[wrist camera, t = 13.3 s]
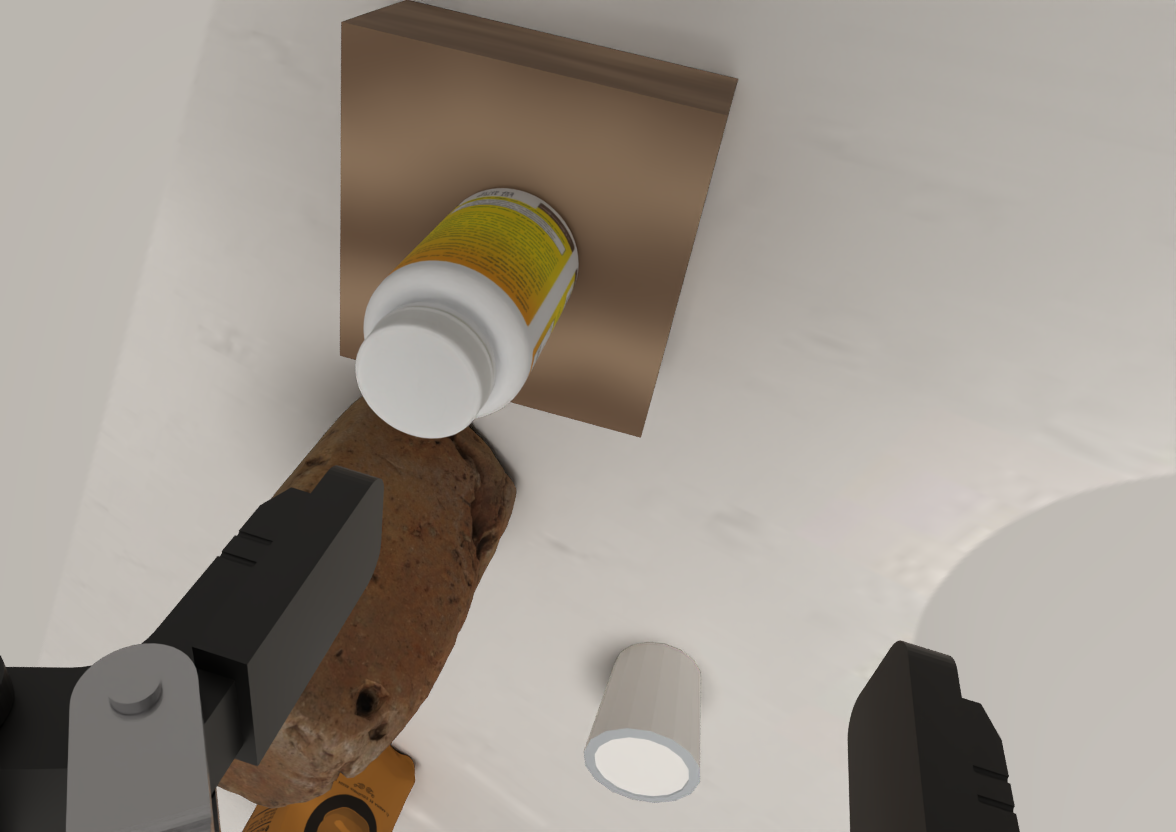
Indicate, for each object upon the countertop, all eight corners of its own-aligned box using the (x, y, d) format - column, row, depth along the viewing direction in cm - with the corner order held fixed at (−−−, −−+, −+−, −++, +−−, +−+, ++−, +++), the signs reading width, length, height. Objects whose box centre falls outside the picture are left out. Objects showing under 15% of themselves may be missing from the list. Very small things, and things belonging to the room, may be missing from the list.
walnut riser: (406, -1, 34) (341, 21, 29) (738, 79, 33) (727, 115, 28) (393, 299, 42) (339, 355, 37) (659, 369, 41) (640, 437, 36)
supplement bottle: (438, 179, 32) (310, 291, 23) (580, 186, 31) (499, 304, 22) (454, 312, 35) (346, 452, 26) (584, 321, 34) (514, 470, 25)
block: (328, 425, 48) (84, 714, 31) (397, 349, 44) (160, 635, 28) (470, 539, 50) (314, 861, 34) (548, 477, 46) (413, 807, 30)
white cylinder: (699, 633, 51) (687, 730, 45) (720, 707, 54) (711, 806, 48) (593, 636, 53) (568, 729, 47) (620, 708, 56) (600, 803, 50)
